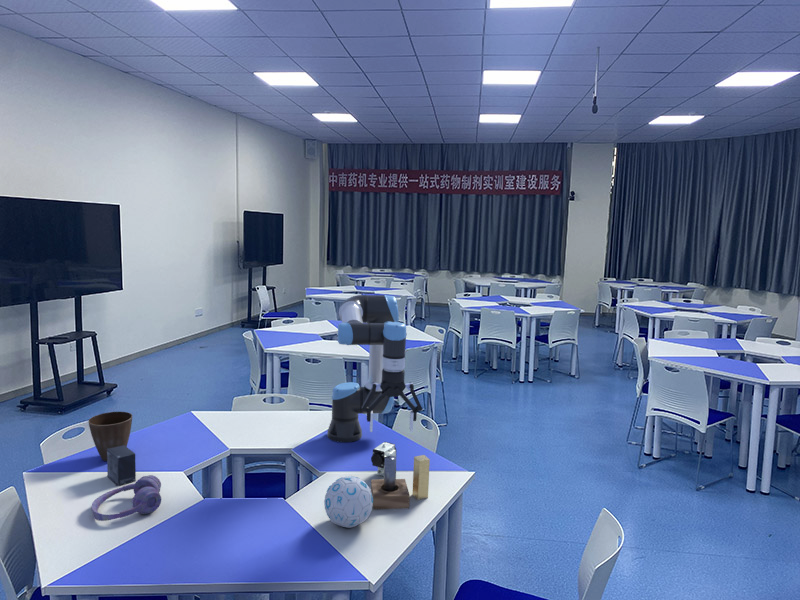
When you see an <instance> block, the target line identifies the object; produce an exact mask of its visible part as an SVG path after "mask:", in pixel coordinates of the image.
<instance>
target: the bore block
mask: <svg viewBox="0 0 800 600" xmlns="http://www.w3.org/2000/svg"><path fill="white" fill-rule="evenodd" d="M370 490H371V493H372V497H373V505H372V510H391V509H392V510H394V509H396V510H397V509H401V510H402V509H410V491H409V489H408V486H407V481H406V478H396V491H393V492H388V491H384V478H383V479H382V478H381V479H380V478H379V479H377V478H376V479H371V480H370Z"/></svg>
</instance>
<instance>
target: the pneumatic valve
mask: <svg viewBox="0 0 800 600" xmlns="http://www.w3.org/2000/svg"><path fill="white" fill-rule="evenodd" d="M371 455H372V456H371V459H370V461H371V465H372V466H374V467H377V474H378V475H377V476H381V477H382V476H383V477H384V464H385V457H386V456H395V457H396V458H397V448H396V443H391V442H387V441H384V442H382V443H381V444H379V445H377V446H376V447H375V448H373V449H372V454H371Z"/></svg>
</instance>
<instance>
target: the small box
mask: <svg viewBox="0 0 800 600" xmlns="http://www.w3.org/2000/svg"><path fill="white" fill-rule="evenodd" d="M106 462H107V465H106V466H107V467H106V469H107V470H106V471H107V477H108V479H109V480H110V481H112V483H114V484H115V485H116V486H117V487H121V486H123V485H124V486H125V485H128V484H132V483H135V482H136V481H137V479H136V478H137V477H136V476H137V475H136V472H137V471H136V469H137V468H136V467H137V466H136V452H134V451H133V450H132V449H130V448H129V447H128V446H127V447H126V446H125V445H122V446H118V447H114V448H109V449H107V461H106Z"/></svg>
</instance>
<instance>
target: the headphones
mask: <svg viewBox="0 0 800 600" xmlns="http://www.w3.org/2000/svg"><path fill="white" fill-rule="evenodd" d="M161 487H162V482H161V480H160V478H159V477H157V476H156V475H153V474H150V475H143V476H141V477H140V478H139V479H136V481H135V482H134V483H129V484H125V485H124V486H123V485H122V487H121V486H120V487H118V488H115V489H112V490H109V491H107V492H105V493H103V494H101V495H100V496H98V497H97V498H96V499H94V500H93V501H92V502H91V512H92V516H93V519H95V520H96V521H101V522H104V521H106V522H107V521H113V520H117V519H121V518H126V517H128V516H132V515H135V514H136V513H138V514H142V515H149V514H150V513H151V514H152V513H153V512H155V511H157V509H158V508H159V507H160V506H161V503H162V496H161V493H160V492H161ZM130 490H133V493H134V496H133V497H132V501H131V504H132V507H131V508H129V509H126V510H123V511H120V512H119V513H114V514H103V513H100V512H98V511H99V508H100V506H101V505H102V504H103V503H104V502H105V501H107V500H108V499H109V498H111V497H113V496H115V495H116V494H119V493H121V492H126V491H130Z"/></svg>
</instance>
